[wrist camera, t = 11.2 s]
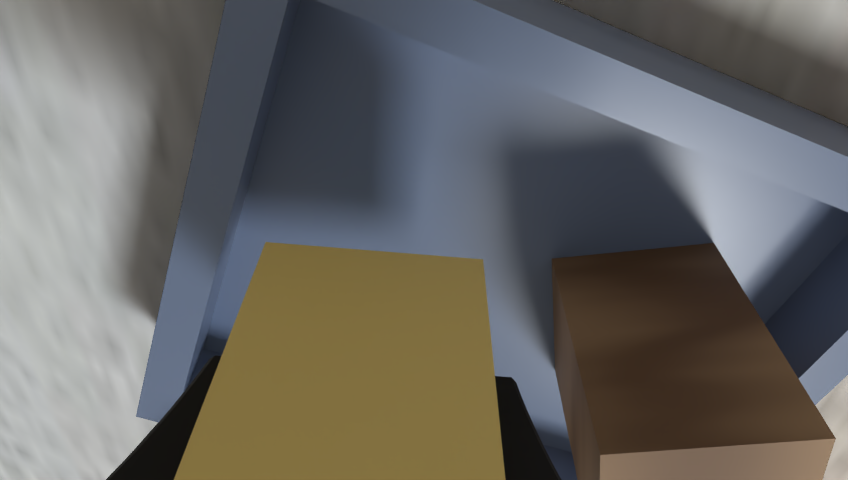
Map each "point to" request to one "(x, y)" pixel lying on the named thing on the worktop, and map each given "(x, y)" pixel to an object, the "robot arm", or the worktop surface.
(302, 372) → the mustard block
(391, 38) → the slate blue tray
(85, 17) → the worktop surface
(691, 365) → the walnut block
